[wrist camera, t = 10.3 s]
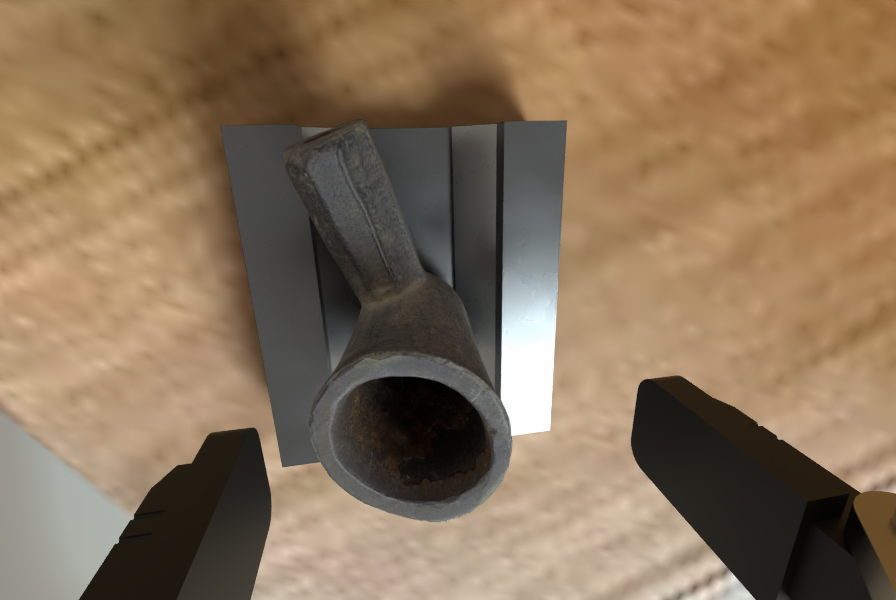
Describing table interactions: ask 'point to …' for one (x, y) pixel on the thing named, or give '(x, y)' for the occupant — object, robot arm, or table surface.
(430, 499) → the pipe
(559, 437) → the table surface
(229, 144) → the v block
